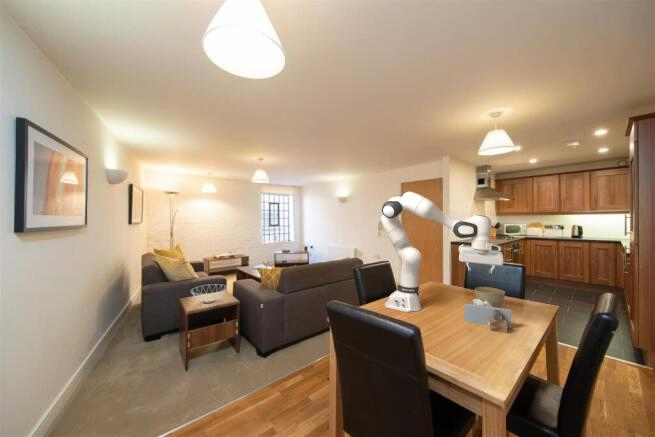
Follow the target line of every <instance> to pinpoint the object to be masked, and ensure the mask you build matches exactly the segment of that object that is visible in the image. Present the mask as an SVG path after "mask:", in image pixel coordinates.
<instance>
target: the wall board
mask: <svg viewBox="0 0 655 437" xmlns="http://www.w3.org/2000/svg"><path fill="white" fill-rule="evenodd" d="M494 310H500V311H501V313H502V317H505V318H506V321H507V329H512V310H511V309H510V308H504V307H503V308H501V307H499V308H495V307H488V306H480V305H474V304H473V303H472V304H471V303H464V322H467V323H474V324H480V325H488V327H490V322H489V315H493V316H494Z"/></svg>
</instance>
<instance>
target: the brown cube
mask: <svg viewBox="0 0 655 437" xmlns="http://www.w3.org/2000/svg"><path fill="white" fill-rule="evenodd" d="M489 322H490V326H489V330H490V331H491V332H496V333H502V334H508V328H507V321H506V318H505V317H502V313H501V311H500V310H494V316H493V315H489Z"/></svg>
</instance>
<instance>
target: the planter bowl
mask: <svg viewBox="0 0 655 437" xmlns="http://www.w3.org/2000/svg"><path fill="white" fill-rule="evenodd" d="M474 292H475V298H476V299H480V300H481V301H482V302H483V303H484V301H488V302H489V303H490V304H491V306H492V307H495V308H500V307H501V306H502V305H503V303H504V301H505V295H506V291H504V290H502V289H499V288H496V287H495V288H494V287H488V286H477V287H475V288H474Z"/></svg>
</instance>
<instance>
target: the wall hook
mask: <svg viewBox="0 0 655 437" xmlns="http://www.w3.org/2000/svg"><path fill="white" fill-rule="evenodd" d="M472 305H480V306H488V307H492V306H491V304H490V303H489V302H488V301H484V303H483V302H482V301H481V300H480V299H477V298H475V299H472Z"/></svg>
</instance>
